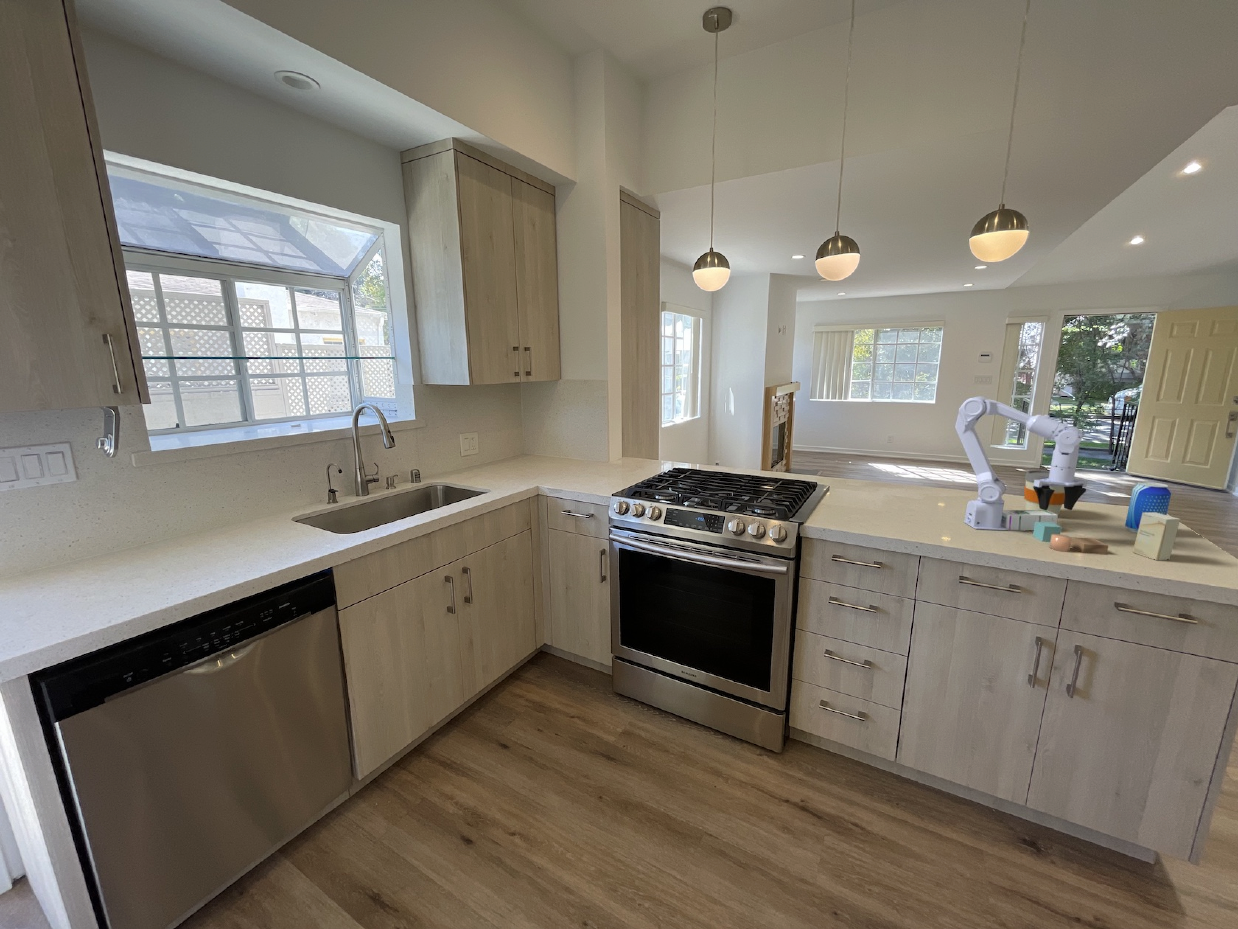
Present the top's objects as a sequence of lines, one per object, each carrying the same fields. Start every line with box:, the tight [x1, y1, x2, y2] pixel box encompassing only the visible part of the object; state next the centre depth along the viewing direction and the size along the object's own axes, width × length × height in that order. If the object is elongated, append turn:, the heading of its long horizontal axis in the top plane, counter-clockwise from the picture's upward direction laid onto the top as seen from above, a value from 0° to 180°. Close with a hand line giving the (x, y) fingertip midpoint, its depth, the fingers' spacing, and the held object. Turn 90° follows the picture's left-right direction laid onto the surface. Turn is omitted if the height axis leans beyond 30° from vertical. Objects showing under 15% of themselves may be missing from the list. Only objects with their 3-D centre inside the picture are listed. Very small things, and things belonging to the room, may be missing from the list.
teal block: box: [1032, 522, 1062, 543], centre depth 152 cm, size 4×4×5 cm
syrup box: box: [1001, 509, 1059, 531], centre depth 163 cm, size 6×6×14 cm
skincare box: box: [1132, 512, 1181, 561], centre depth 137 cm, size 6×4×12 cm
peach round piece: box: [1048, 533, 1072, 553], centre depth 144 cm, size 4×4×4 cm
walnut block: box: [1070, 536, 1109, 555], centre depth 143 cm, size 6×6×3 cm
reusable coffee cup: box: [1023, 469, 1065, 516], centre depth 176 cm, size 13×13×15 cm
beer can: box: [1124, 481, 1172, 534], centre depth 157 cm, size 8×8×16 cm
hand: (1055, 509), depth 152 cm, fingers open, 7 cm apart
